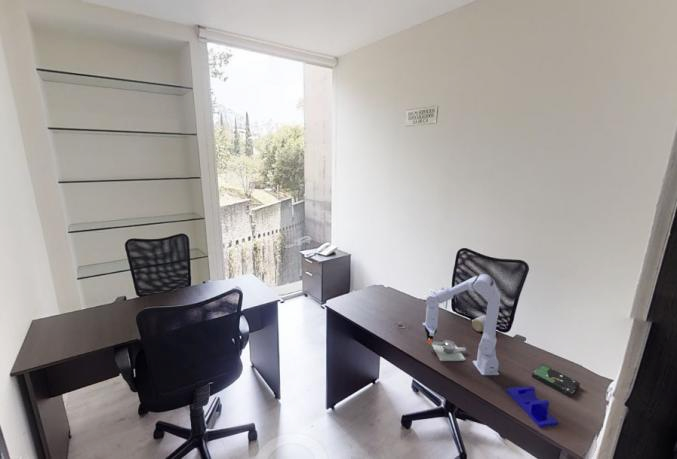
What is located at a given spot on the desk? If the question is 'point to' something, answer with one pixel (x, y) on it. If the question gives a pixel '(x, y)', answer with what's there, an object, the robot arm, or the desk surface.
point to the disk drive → (556, 380)
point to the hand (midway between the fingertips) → (429, 340)
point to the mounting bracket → (532, 405)
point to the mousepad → (401, 327)
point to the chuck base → (447, 356)
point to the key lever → (443, 344)
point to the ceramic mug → (479, 323)
